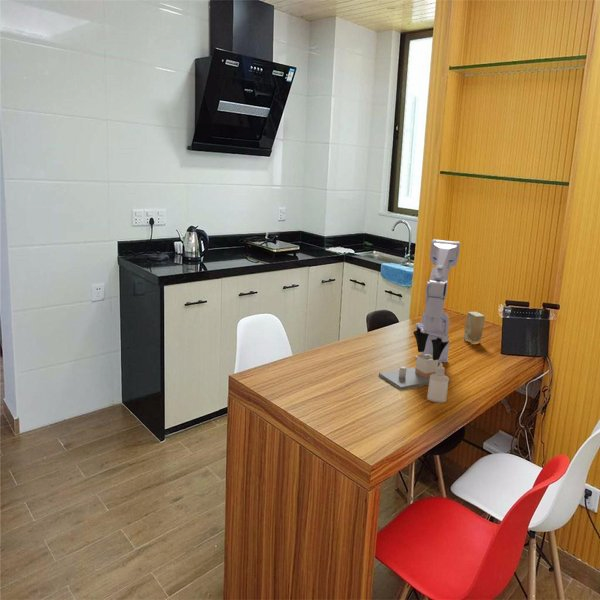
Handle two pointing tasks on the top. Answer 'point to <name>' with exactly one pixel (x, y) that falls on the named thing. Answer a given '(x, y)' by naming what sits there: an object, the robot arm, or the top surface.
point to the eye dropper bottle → (438, 385)
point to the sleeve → (426, 365)
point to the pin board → (405, 378)
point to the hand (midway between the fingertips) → (428, 355)
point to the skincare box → (474, 327)
